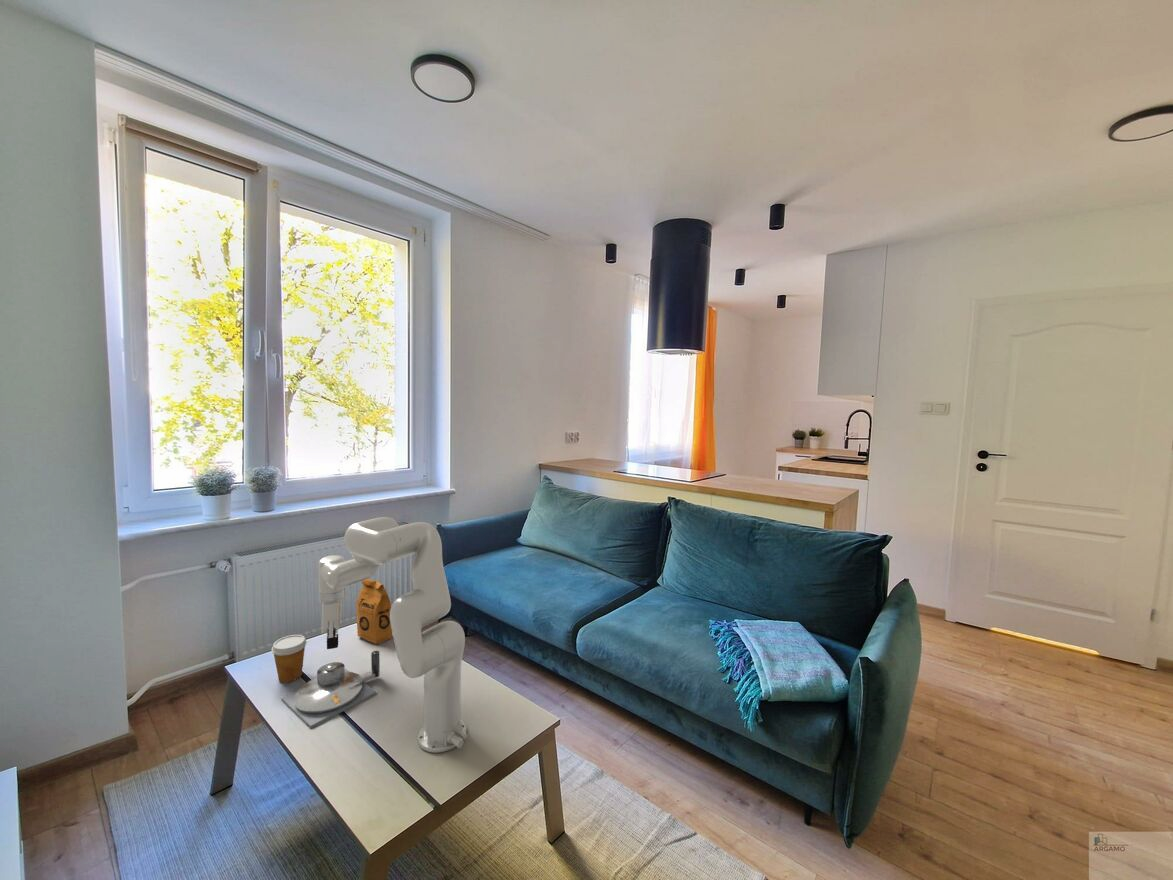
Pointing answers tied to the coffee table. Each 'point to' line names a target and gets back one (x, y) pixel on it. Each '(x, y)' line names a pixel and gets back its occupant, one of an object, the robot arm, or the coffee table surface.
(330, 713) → the plinth
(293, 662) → the disposable coffee cup
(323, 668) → the cover
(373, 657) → the turntable
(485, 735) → the coffee table surface
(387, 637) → the coffee package
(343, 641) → the coffee table surface
